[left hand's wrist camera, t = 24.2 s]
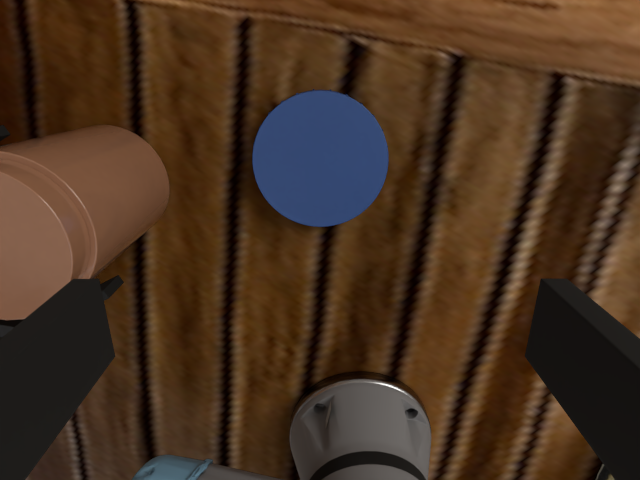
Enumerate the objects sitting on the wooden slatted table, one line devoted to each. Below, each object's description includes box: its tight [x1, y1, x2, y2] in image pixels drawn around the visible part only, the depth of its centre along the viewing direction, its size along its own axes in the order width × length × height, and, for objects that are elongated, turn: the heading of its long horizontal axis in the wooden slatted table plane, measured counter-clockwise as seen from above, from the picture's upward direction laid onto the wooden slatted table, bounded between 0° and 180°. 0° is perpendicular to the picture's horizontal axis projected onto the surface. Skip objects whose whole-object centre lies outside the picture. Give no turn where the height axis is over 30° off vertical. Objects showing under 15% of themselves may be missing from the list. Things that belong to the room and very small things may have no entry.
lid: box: [252, 89, 388, 227], centre depth 36 cm, size 11×11×2 cm
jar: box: [0, 125, 170, 320], centre depth 31 cm, size 10×10×15 cm
